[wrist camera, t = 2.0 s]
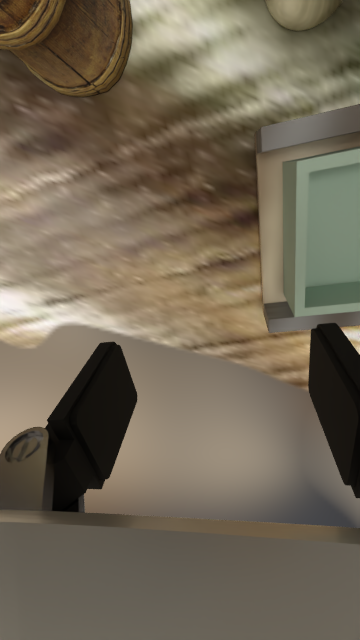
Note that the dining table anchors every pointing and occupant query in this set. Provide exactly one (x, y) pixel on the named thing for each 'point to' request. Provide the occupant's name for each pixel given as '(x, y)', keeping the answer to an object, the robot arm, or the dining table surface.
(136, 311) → the dining table surface
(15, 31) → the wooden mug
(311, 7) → the beer glass
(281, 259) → the bay
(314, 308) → the box
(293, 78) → the dining table surface
